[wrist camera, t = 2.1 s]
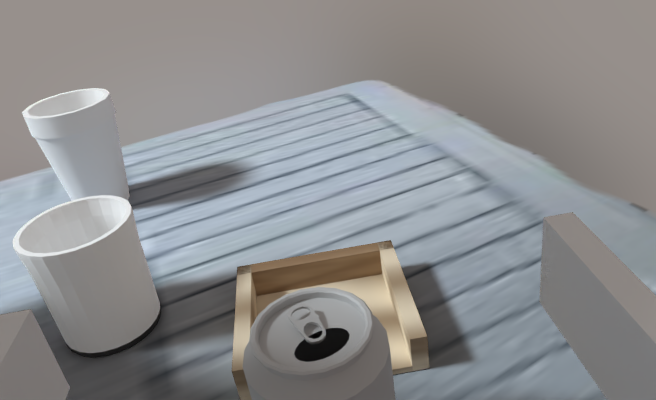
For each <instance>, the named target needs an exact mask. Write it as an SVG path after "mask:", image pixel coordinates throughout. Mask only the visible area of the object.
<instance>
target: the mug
mask: <svg viewBox="0 0 656 400" xmlns="http://www.w3.org/2000/svg"><path fill="white" fill-rule="evenodd" d="M13 248H14V250H15V252H16V253H17V255H18V256H19V258H20V260H21V261H22V263H23V264H24V266H25V267H26V269H27V271H28V272H29V274H30V275H31V277H32V279H33V280H34V282H35V284H36V286H37V288H38V290H39V292H40V294H41V296H42V298H43V300H44V302H45V304H46V305H47V307H48V309H49V311H50V313H51V315H52V317H53V319H54V321H55V323H56V325H57V327H58V329H59V331H60V332H61V334H62V336H63V338H64V340H65V342H66V344H67V346H68V347H69V348H70V349H71V350H72V351H73V352H75V353H78V354H80V355H82V356H88V357H99V356H107V355H111V354H114V353H118V352H120V351H123V350H125V349H127V348H129V347H131V346H133V345H134V344H136V343H138V342H139V341H141V340H142V339H143V338H144V337H146V336H147V335H148V334H149V333H150V332H151V331H152V329H153V328H154V327H155V325H156V324H157V322H158V319H159V317H160V314H161V305H160V302H159V299H158V295H157V292H156V289H155V286H154V283H153V280H152V277H151V274H150V271H149V268H148V264H147V261H146V258H145V255H144V252H143V249H142V246H141V243H140V240H139V236H138V232H137V227H136V223H135V219H134V214H133V210H132V207H131V205H130V203H129V202H128V201H127V200H125V199H124V198H122V197H117V196H112V195H99V196H91V197H85V198H80V199H76V200H72V201H69V202H66V203H63V204H60V205H58V206H55V207H53V208H51V209H49V210H47V211H44V212H43V213H41V214H39V215H38V216H36V217H34V218H33V219H31V220H30V221H29V222H27V223H26V224H25V225H23V226H22V228H21V229H20V230H19V231H18V232H17V233H16V235H15V237H14V239H13Z"/></svg>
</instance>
